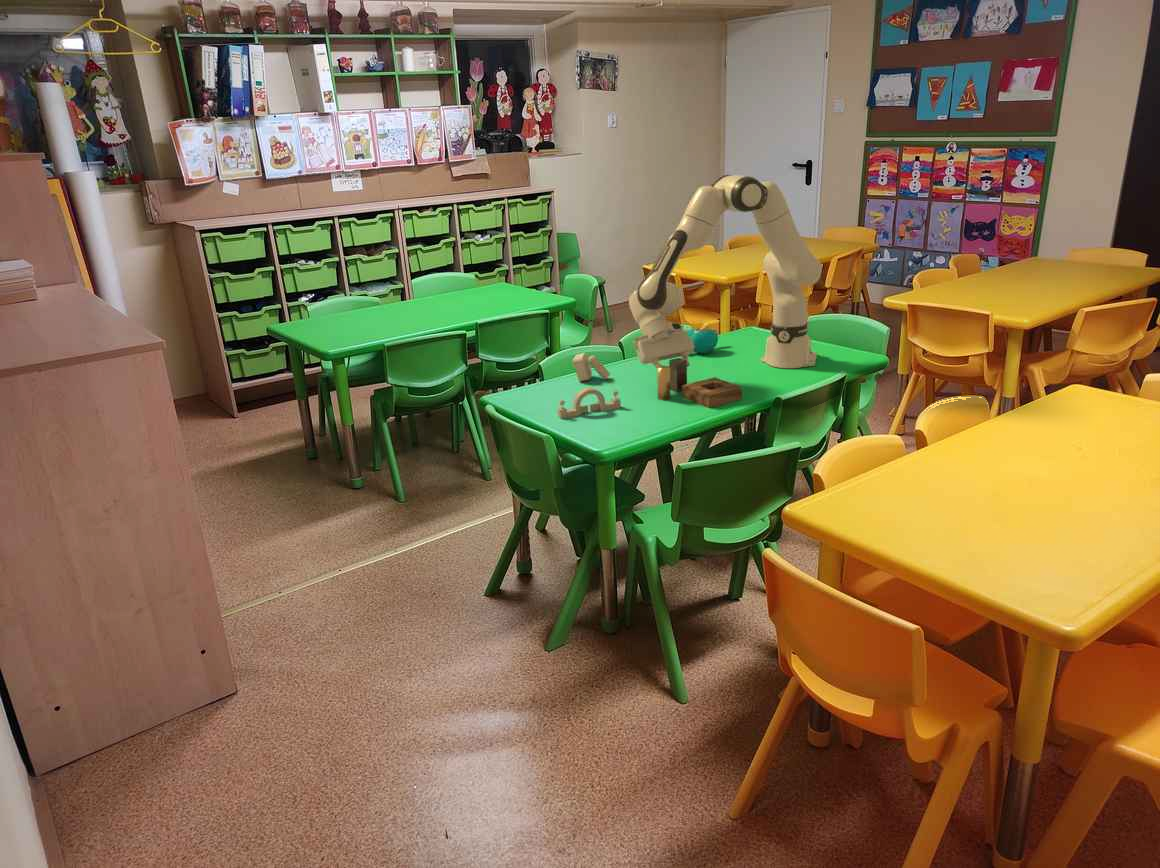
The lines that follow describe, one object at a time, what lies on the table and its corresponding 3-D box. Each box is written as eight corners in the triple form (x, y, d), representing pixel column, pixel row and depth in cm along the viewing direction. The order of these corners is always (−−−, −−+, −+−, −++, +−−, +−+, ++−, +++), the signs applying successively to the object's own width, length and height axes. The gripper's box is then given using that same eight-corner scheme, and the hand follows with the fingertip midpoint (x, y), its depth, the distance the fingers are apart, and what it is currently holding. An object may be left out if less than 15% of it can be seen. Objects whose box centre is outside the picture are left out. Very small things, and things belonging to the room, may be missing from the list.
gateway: (617, 407, 250) (616, 382, 247) (620, 409, 248) (619, 384, 245) (558, 418, 244) (556, 392, 241) (560, 420, 242) (559, 395, 239)
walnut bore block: (682, 397, 254) (682, 385, 253) (714, 389, 260) (714, 377, 258) (708, 408, 243) (708, 395, 242) (741, 399, 249) (742, 386, 248)
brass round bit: (660, 395, 257) (660, 365, 253) (672, 396, 255) (672, 366, 251) (655, 399, 254) (655, 368, 250) (667, 400, 252) (667, 369, 248)
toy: (684, 320, 325) (733, 322, 299) (686, 344, 327) (735, 349, 302) (638, 329, 315) (685, 332, 289) (641, 354, 317) (687, 359, 292)
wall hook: (609, 381, 272) (601, 353, 269) (580, 387, 275) (572, 360, 271) (612, 374, 279) (604, 346, 276) (584, 380, 282) (576, 354, 279)
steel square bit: (669, 389, 262) (669, 360, 258) (679, 387, 264) (679, 357, 260) (677, 392, 258) (676, 362, 255) (686, 390, 260) (686, 360, 257)
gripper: (634, 333, 257) (653, 369, 252) (686, 323, 266) (704, 358, 262) (627, 344, 262) (645, 380, 257) (677, 333, 271) (696, 368, 267)
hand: (675, 368), depth 260 cm, fingers open, 8 cm apart
